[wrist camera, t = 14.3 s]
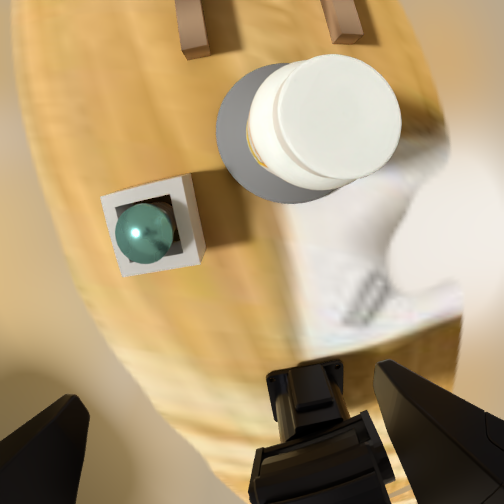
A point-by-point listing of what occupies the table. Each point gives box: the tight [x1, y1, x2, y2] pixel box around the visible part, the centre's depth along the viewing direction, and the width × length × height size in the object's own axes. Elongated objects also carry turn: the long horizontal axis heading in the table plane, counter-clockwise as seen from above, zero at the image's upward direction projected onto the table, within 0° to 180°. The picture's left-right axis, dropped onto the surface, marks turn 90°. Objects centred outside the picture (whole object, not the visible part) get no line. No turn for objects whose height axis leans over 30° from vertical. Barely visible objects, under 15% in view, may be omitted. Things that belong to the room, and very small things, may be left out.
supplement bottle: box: [246, 54, 402, 190], centre depth 12 cm, size 5×5×10 cm
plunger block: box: [100, 173, 206, 277], centre depth 17 cm, size 5×5×3 cm
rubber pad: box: [216, 63, 334, 204], centre depth 17 cm, size 9×9×1 cm
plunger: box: [115, 202, 177, 264], centre depth 16 cm, size 3×3×4 cm
